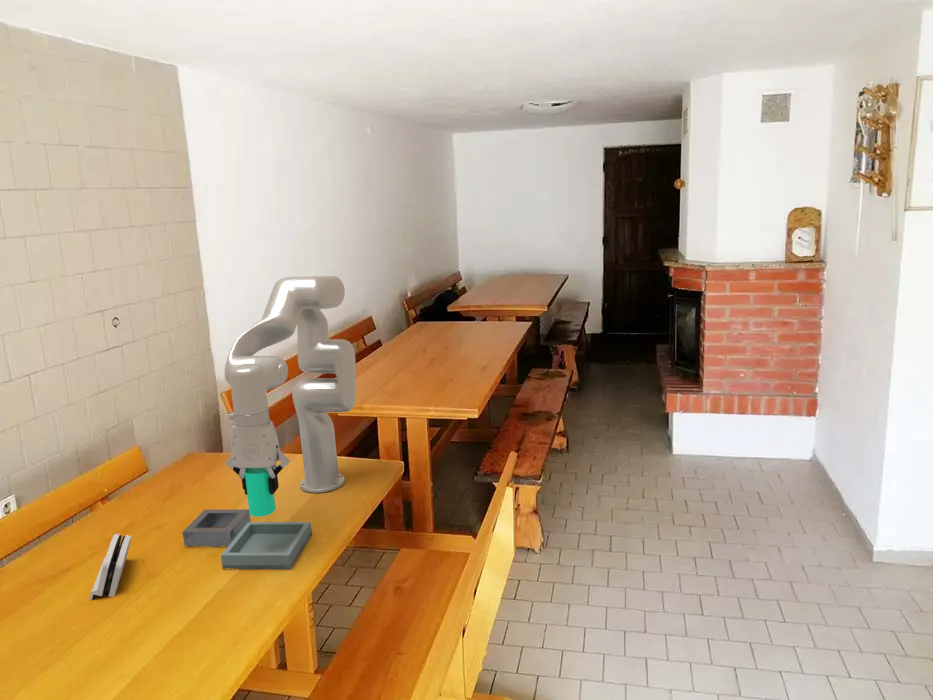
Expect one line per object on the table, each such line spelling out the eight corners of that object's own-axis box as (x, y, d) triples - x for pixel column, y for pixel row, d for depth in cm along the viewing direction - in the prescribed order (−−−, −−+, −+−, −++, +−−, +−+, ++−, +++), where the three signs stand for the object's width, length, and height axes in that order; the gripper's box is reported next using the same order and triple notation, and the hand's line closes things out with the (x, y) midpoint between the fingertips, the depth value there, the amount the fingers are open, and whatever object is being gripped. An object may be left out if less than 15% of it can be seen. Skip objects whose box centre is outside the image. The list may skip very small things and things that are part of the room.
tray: (249, 534, 178) (247, 522, 178) (311, 534, 177) (310, 521, 176) (222, 569, 163) (220, 555, 162) (290, 569, 161) (289, 555, 161)
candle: (256, 519, 163) (249, 470, 160) (245, 511, 168) (238, 463, 165) (280, 510, 167) (274, 462, 164) (268, 503, 171) (263, 456, 169)
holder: (206, 523, 186) (204, 509, 185) (251, 523, 184) (249, 509, 183) (184, 547, 174) (182, 532, 173) (232, 547, 173) (230, 532, 172)
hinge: (103, 563, 168) (112, 524, 167) (124, 565, 170) (133, 527, 169) (88, 601, 153) (98, 558, 151) (112, 603, 154) (122, 561, 153)
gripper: (208, 424, 159) (219, 499, 163) (283, 422, 158) (291, 498, 162) (223, 413, 167) (232, 485, 171) (294, 412, 165) (302, 485, 169)
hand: (261, 491), depth 166 cm, fingers closed on candle, 5 cm apart
